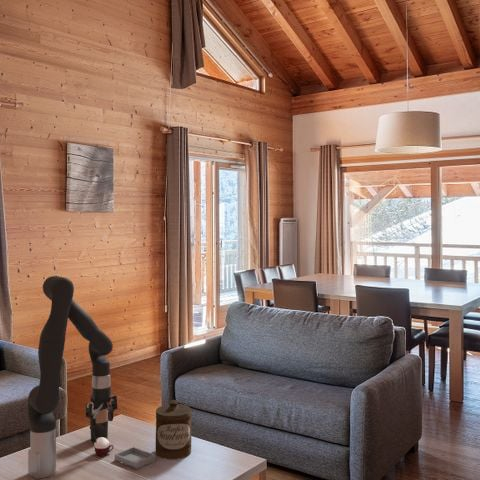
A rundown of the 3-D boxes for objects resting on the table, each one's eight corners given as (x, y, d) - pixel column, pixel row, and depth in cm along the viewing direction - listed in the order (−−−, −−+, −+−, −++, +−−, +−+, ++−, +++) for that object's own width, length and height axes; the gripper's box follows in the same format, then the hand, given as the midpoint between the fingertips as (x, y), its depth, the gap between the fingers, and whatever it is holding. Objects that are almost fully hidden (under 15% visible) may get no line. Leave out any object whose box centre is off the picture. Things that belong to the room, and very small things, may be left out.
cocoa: (114, 452, 238) (115, 424, 238) (109, 458, 232) (110, 429, 232) (92, 450, 239) (93, 422, 239) (86, 456, 233) (88, 427, 233)
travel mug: (110, 436, 254) (110, 392, 254) (104, 443, 247) (104, 397, 246) (93, 435, 255) (93, 391, 254) (87, 442, 248) (87, 397, 247)
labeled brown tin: (156, 461, 230) (156, 407, 229) (154, 446, 244) (154, 395, 243) (193, 458, 233) (193, 405, 232) (189, 444, 247) (189, 393, 246)
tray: (136, 469, 222) (136, 463, 222) (114, 460, 230) (114, 454, 230) (155, 461, 230) (155, 454, 230) (133, 452, 238) (133, 446, 238)
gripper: (92, 391, 227) (93, 431, 228) (120, 382, 238) (121, 420, 239) (81, 387, 231) (82, 427, 232) (109, 379, 242) (110, 416, 243)
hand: (102, 423), depth 235 cm, fingers open, 8 cm apart
